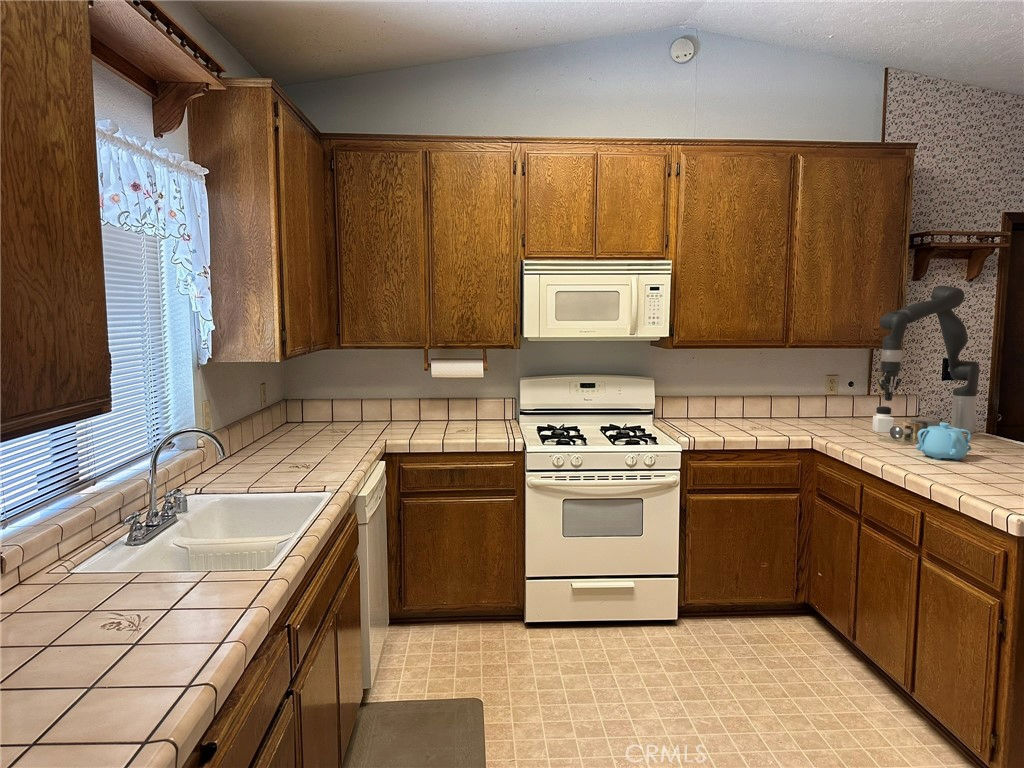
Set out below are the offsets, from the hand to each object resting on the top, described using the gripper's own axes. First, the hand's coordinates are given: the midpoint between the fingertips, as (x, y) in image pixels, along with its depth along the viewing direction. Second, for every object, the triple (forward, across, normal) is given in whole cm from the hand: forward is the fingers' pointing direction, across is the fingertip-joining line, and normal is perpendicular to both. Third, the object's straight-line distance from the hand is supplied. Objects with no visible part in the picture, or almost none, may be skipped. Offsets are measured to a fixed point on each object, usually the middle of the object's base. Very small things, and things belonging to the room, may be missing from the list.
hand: (888, 400), depth 287 cm
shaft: (+17, +14, -1) cm, 22 cm away
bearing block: (+18, +15, -1) cm, 24 cm away
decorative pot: (+19, -7, -29) cm, 35 cm away
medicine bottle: (+18, +24, +19) cm, 36 cm away
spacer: (+17, +15, -1) cm, 23 cm away
